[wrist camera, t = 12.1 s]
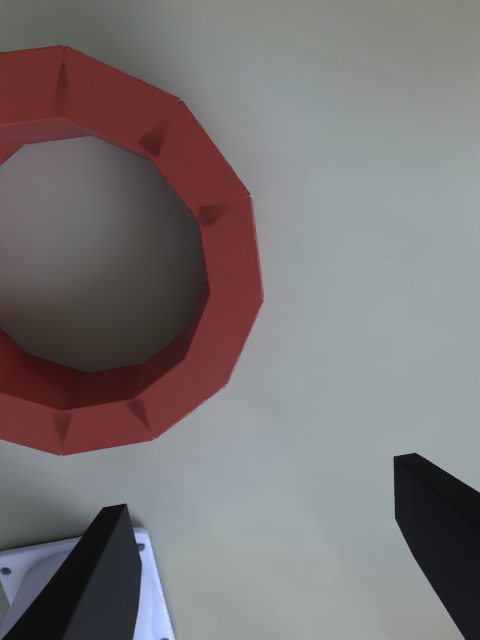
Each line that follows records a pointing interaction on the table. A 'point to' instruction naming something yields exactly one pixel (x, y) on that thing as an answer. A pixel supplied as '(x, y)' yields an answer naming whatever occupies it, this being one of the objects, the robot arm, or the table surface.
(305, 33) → the table surface
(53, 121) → the ring
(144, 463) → the table surface
